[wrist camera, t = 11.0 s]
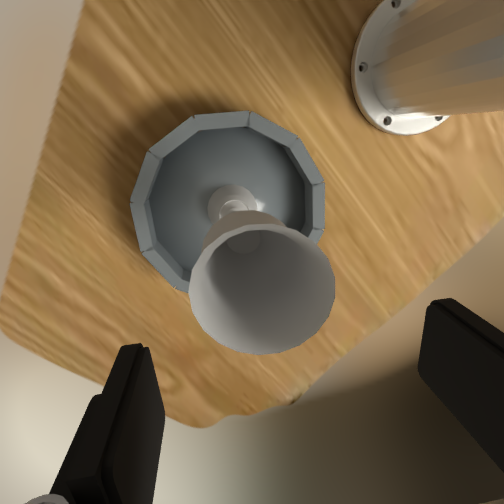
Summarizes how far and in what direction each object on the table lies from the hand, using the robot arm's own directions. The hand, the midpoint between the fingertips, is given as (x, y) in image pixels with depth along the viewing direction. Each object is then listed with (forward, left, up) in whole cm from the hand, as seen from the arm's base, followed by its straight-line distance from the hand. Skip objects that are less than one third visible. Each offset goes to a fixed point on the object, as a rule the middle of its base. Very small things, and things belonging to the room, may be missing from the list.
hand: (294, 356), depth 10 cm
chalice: (0, 0, -23) cm, 23 cm away
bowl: (0, 0, -24) cm, 24 cm away
